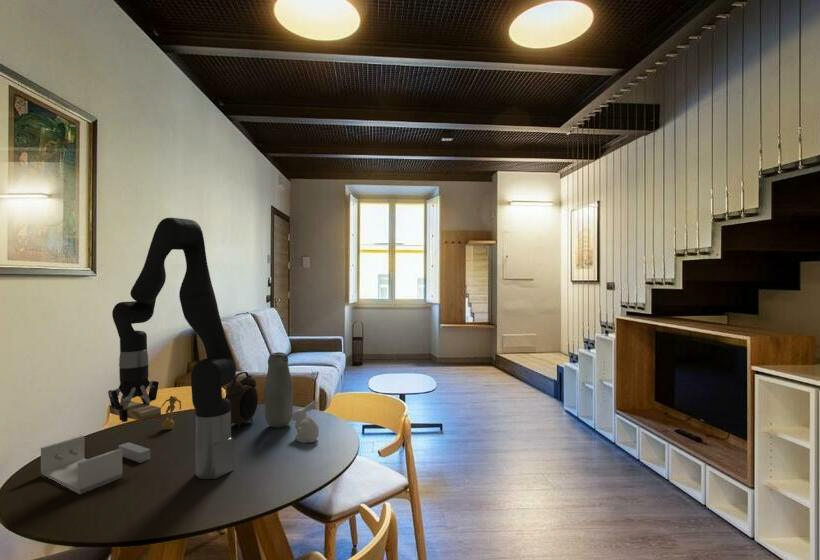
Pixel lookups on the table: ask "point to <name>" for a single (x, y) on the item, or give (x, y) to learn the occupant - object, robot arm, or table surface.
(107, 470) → the shelf frame
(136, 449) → the block
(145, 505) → the table surface
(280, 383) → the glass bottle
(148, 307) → the robot arm
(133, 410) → the shelf board
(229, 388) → the alarm clock
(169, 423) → the figurine
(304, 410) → the rabbit
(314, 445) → the table surface
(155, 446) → the table surface
